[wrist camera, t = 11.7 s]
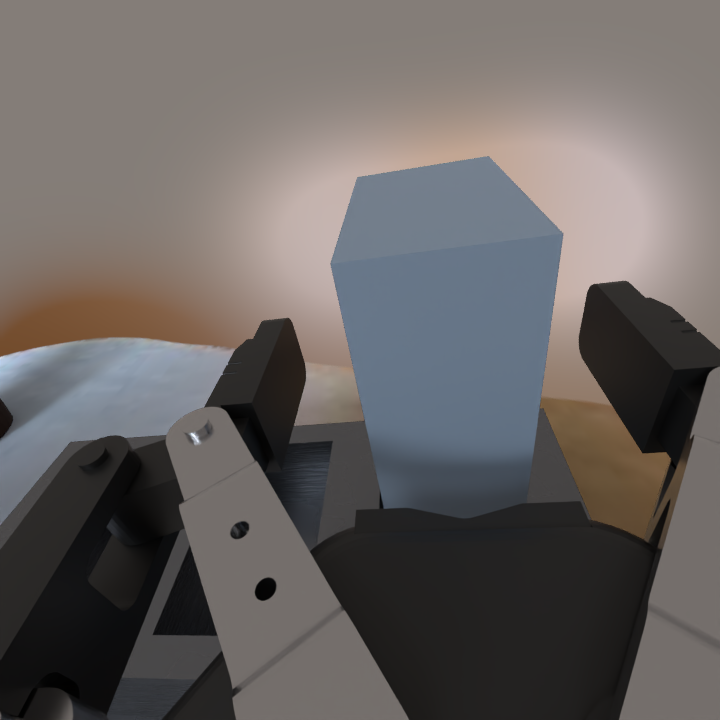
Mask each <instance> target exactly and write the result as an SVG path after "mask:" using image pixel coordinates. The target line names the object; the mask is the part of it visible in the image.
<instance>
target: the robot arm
mask: <svg viewBox="0 0 720 720" xmlns="http://www.w3.org/2000/svg"><path fill="white" fill-rule="evenodd" d="M696 330H697V329H696V328H695V327H693V326H692V325H691V324H690V323H689V322H685V319H684V318H683V317H682V316H681V315H680V314H679V313H678V312H676V311H675V310H674V309H673V308H672V307H670V306H668V305H666V304H663V303H661V302H659V301H657V300H655V299H652V298H645V297H644V296H643V295H641V293H640V292H638V290H636V289H635V288H634V287H633V286H632V285H631V284H630V283H629V282H627V281H618V282H609V283H600V284H593V285H591V286H590V288H589V290H588V292H587V297H586V302H585V307H584V313H583V318H582V323H581V328H580V334H579V349H580V353H581V356H582V359H583V360H584V362H585V363H586V365H587V366H588V368H589V370H590V371H591V373H592V374H593V376H594V378H595V379H596V381H597V382H598V384H599V385H600V387H601V389H602V390H603V392H604V393H605V395H606V396H607V398H608V400H609V401H610V403H611V404H612V406H613V407H614V409H615V411H616V412H617V414H618V415H619V417H620V418H621V420H622V422H623V423H624V425H625V426H626V428H627V429H628V431H629V433H630V434H631V436H632V437H633V439H634V440H635V442H636V444H637V445H638V447H639V448H640V450H641V451H642V453H658V452H667V454H668V455H669V457H670V458H671V460H670V462H669V464H668V466H667V469H666V472H665V475H664V478H663V481H662V484H661V487H660V490H659V493H658V497H657V500H656V503H655V506H654V509H653V512H652V515H651V518H650V521H649V525H648V528H647V531H646V533H645V536H644V539H641V538H639V537H637V536H635V535H633V534H631V533H629V532H627V531H624V530H622V529H619V528H616V527H614V526H611V525H608V524H604V523H601V522H597V521H593V520H588V517H587V515H586V513H585V510H584V508H583V506H582V503H581V501H571V502H545V503H522V504H518V505H514V506H511V507H507V508H504V509H500V510H497V511H493V512H490V513H486V514H483V515H479V516H476V517H472V518H457V517H452V516H447V515H442V514H437V513H432V512H427V511H422V510H417V509H412V508H387V509H361V510H356V516H355V527H351V528H348V529H345V530H343V531H341V532H338V533H336V534H334V535H332V536H331V537H329V538H327V539H325V540H324V541H322V542H321V543H320V544H318V545H317V546H315V547H314V548H313V549H312V550H311V551H309V550H308V548H307V546H306V545H305V543H304V541H303V539H302V538H301V536H300V534H299V533H298V531H297V529H296V527H295V526H294V524H293V522H292V520H291V519H290V517H289V515H288V514H287V512H286V510H285V508H284V507H283V505H282V503H281V502H280V500H279V498H278V496H277V495H276V493H275V491H274V490H273V488H272V486H271V484H270V483H269V481H268V479H267V477H266V476H265V473H266V472H280V471H282V468H283V464H284V460H285V456H286V453H287V449H288V445H289V441H290V438H291V434H292V430H293V426H294V423H295V419H296V415H297V411H298V408H299V404H300V400H301V397H302V393H303V389H304V385H305V381H306V368H305V363H304V359H303V356H302V353H301V349H300V346H299V343H298V339H297V336H296V333H295V330H294V327H293V324H292V322H291V320H290V319H289V318H283V319H274V320H266V321H262V322H261V324H260V326H259V328H258V330H257V332H256V334H255V336H254V338H253V339H248V340H246V341H245V342H244V343H243V344H242V345H240V346H239V347H238V348H237V349H236V350H235V351H234V353H233V355H232V357H231V358H230V360H229V362H228V365H227V366H226V368H225V370H224V371H223V375H221V377H220V379H219V381H218V383H217V384H216V386H215V388H214V390H213V392H212V394H211V396H210V397H209V399H208V401H207V403H206V405H205V407H204V408H201V409H198V410H195V411H192V412H190V413H188V414H187V415H185V416H183V417H182V418H181V419H179V420H178V421H177V422H176V423H175V424H174V425H173V426H172V427H171V429H170V430H169V432H168V434H167V436H166V439H165V440H162V441H158V442H155V443H152V444H149V445H146V446H142V447H139V448H136V449H133V448H132V446H131V445H130V443H129V442H128V441H127V439H125V438H124V437H122V436H107V437H103V438H100V439H98V440H95V441H93V442H91V443H89V444H87V445H86V446H84V447H82V448H81V449H80V450H78V451H77V452H76V453H75V454H73V455H72V456H71V457H70V458H69V459H68V461H67V462H66V463H65V464H64V466H63V467H62V468H61V469H60V471H59V472H58V473H57V475H56V476H55V477H54V479H53V480H52V481H51V483H50V484H49V485H48V487H47V488H46V489H45V491H44V492H43V493H42V495H41V496H40V497H39V499H38V500H37V501H36V503H35V504H34V505H33V507H32V508H31V509H30V511H29V512H28V513H27V515H26V516H25V517H24V519H23V520H22V521H21V523H20V524H19V525H18V527H17V528H16V529H15V531H14V532H13V533H12V535H11V536H10V537H9V539H8V540H7V541H6V543H5V544H4V545H3V547H2V548H1V549H0V720H108V718H107V713H108V711H109V708H110V706H111V703H112V701H113V698H114V696H115V693H116V691H117V688H118V685H119V683H120V680H121V678H122V675H123V673H124V670H125V668H126V665H127V663H128V660H129V658H130V655H131V653H132V650H133V648H134V645H135V643H136V640H137V638H138V635H139V633H140V630H141V628H142V625H143V623H144V620H145V617H146V615H147V612H148V610H149V607H150V605H151V602H152V600H153V597H154V595H155V592H156V590H157V587H158V585H159V582H160V580H161V577H162V575H163V572H164V570H165V567H166V565H167V562H168V560H169V557H170V555H171V552H172V549H173V547H174V544H175V542H176V539H177V537H178V534H179V532H180V530H182V529H185V530H186V533H187V537H188V540H189V543H190V546H191V550H192V553H193V556H194V560H195V563H196V566H197V569H198V573H199V576H200V579H201V583H202V586H203V589H204V592H205V596H206V599H207V602H208V605H209V609H210V612H211V615H212V619H213V622H214V625H215V628H216V632H217V635H218V638H219V642H220V645H221V648H222V651H221V652H220V653H219V654H218V655H217V656H216V658H215V659H214V660H213V661H212V662H211V663H210V664H209V666H208V667H207V668H206V669H205V670H204V671H203V672H202V674H201V675H200V676H199V677H198V678H197V679H196V681H195V682H194V683H193V684H192V685H191V686H190V687H189V689H188V690H187V691H186V692H185V693H184V694H183V695H182V697H181V698H180V699H179V700H178V701H177V702H176V703H175V705H174V706H173V707H172V708H171V709H170V710H169V712H168V713H167V714H166V715H165V716H164V717H163V718H162V720H720V350H719V349H718V348H717V347H716V346H715V345H714V344H712V343H711V342H710V341H709V340H708V339H707V338H706V337H705V336H704V335H702V334H701V333H700V332H697V331H696ZM106 528H107V529H108V530H109V531H110V532H111V533H112V536H111V538H110V540H109V542H108V543H107V545H106V547H105V549H104V551H103V553H102V555H101V556H100V558H99V560H98V562H97V564H96V566H95V568H94V569H93V571H92V573H91V575H90V577H89V579H87V574H86V570H87V564H88V560H89V558H90V556H91V554H92V552H93V550H94V548H95V547H96V545H97V543H98V541H99V539H100V538H101V536H102V534H103V532H104V531H105V529H106Z"/></svg>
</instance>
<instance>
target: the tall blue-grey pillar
mask: <svg viewBox="0 0 720 720" xmlns="http://www.w3.org/2000/svg"><path fill="white" fill-rule="evenodd" d="M562 239H563V233H562V232H561V231H560V230H559V229H558V228H557V226H556V225H555V224H553V222H552V221H551V220H550V219H549V218H548V217H547V216H546V215H545V214H544V213H543V212H542V211H541V210H540V209H539V208H538V207H537V206H536V205H535V204H534V203H533V202H532V201H531V200H530V199H529V198H528V196H527V195H526V194H525V193H524V192H523V191H522V190H521V189H520V188H519V187H518V186H517V185H516V184H515V183H514V182H513V181H512V180H511V179H510V178H509V177H508V176H507V175H506V174H505V173H504V172H503V171H502V170H501V169H500V167H499V166H498V165H497V164H496V163H495V162H494V161H493V160H492V159H491V158H490V157H489V156H487V157H480V158H474V159H468V160H462V161H455V162H449V163H443V164H437V165H431V166H424V167H418V168H412V169H406V170H400V171H393V172H387V173H381V174H375V175H368V176H362V177H358V178H357V180H356V183H355V187H354V190H353V193H352V196H351V199H350V203H349V206H348V209H347V212H346V215H345V219H344V222H343V225H342V228H341V232H340V235H339V238H338V241H337V244H336V247H335V251H334V254H333V257H332V260H331V268H332V273H333V277H334V282H335V287H336V291H337V296H338V300H339V305H340V309H341V314H342V319H343V323H344V328H345V332H346V337H347V341H348V346H349V351H350V355H351V360H352V364H353V369H354V373H355V378H356V383H357V387H358V392H359V396H360V401H361V405H362V410H363V415H364V419H365V424H366V428H367V433H368V437H369V442H370V446H371V451H372V456H373V460H374V465H375V469H376V474H377V478H378V483H379V488H380V492H381V497H382V501H383V506H384V509H387V508H412V509H417V510H422V511H427V512H432V513H437V514H442V515H447V516H452V517H457V518H472V517H476V516H479V515H483V514H486V513H490V512H493V511H497V510H500V509H504V508H507V507H511V506H514V505H518V504H522V503H527V496H528V488H529V481H530V474H531V466H532V459H533V452H534V445H535V437H536V430H537V423H538V415H539V408H540V401H541V393H542V386H543V379H544V371H545V364H546V357H547V350H548V342H549V335H550V327H551V320H552V313H553V306H554V299H555V291H556V283H557V277H558V269H559V262H560V255H561V247H562Z"/></svg>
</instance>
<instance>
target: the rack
mask: <svg viewBox="0 0 720 720" xmlns="http://www.w3.org/2000/svg"><path fill="white" fill-rule="evenodd" d="M166 436H167V435H162V436H148V437H134V438H125V439H127V441H128V442H129V443H130V445H131V446H132V448H133V449H136V448H139V447H142V446H146V445H149V444H152V443H155V442H158V441H162V440H165V439H166ZM93 441H95V440H92V441H77V442H70V443H69V444H68V446H67V447H66V448H65V449H64V450H63V452H62V453H61V454H60V455H59V456H58V458H57V459H56V460H55V461H54V462H53V463H52V465H51V466H50V467H49V468H48V469H47V471H46V472H45V473H44V474H43V475H42V477H41V478H40V479H39V480H38V481H37V483H36V484H35V485H34V486H33V487H32V489H31V490H30V491H29V492H28V493H27V495H26V496H25V497H24V498H23V499H22V500H21V502H20V503H19V504H18V505H17V506H16V508H15V509H14V510H13V511H12V512H11V514H10V515H9V516H8V517H7V518H6V520H5V521H4V522H3V523H2V524H1V526H0V549H1V548H2V547H3V545H4V544H5V543H6V541H7V540H8V539H9V537H10V536H11V535H12V533H13V532H14V531H15V529H16V528H17V527H18V525H19V524H20V523H21V521H22V520H23V519H24V517H25V516H26V515H27V513H28V512H29V511H30V509H31V508H32V507H33V505H34V504H35V503H36V501H37V500H38V499H39V497H40V496H41V495H42V493H43V492H44V491H45V489H46V488H47V487H48V485H49V484H50V483H51V481H52V480H53V479H54V477H55V476H56V475H57V473H58V472H59V471H60V469H61V468H62V467H63V466H64V464H65V463H66V462H67V461H68V459H69V458H70V457H71V456H72V455H73V454H75V453H76V452H77V451H78V450H80V449H81V448H82V447H84V446H86V445H87V444H89V443H91V442H93ZM265 476H266V477H267V479H268V481H269V483H270V484H271V486H272V488H273V490H274V491H275V493H276V495H277V496H278V498H279V500H280V502H281V503H282V505H283V507H284V508H285V510H286V512H287V514H288V515H289V517H290V519H291V520H292V522H293V524H294V526H295V527H296V529H297V531H298V533H299V534H300V536H301V538H302V539H303V541H304V543H305V545H306V546H307V548H308V550H309V551H311V550H312V549H313V548H314V547H315V546H317V545H318V544H320V543H321V542H322V541H324V540H325V539H327V538H329V537H331V536H332V535H334V534H336V533H338V532H341V531H343V530H345V529H348V528H351V527H355V516H356V510H361V509H384V506H383V501H382V497H381V492H380V488H379V483H378V478H377V474H376V469H375V465H374V460H373V456H372V451H371V446H370V442H369V437H368V433H367V428H366V424H365V421H359V422H345V423H331V424H317V425H303V426H293V430H292V434H291V438H290V441H289V445H288V449H287V453H286V456H285V460H284V464H283V468H282V471H280V472H266V473H265ZM571 501H581V503H582V506H583V508H584V510H585V513H586V515H587V517H588V520H591V518H590V515H589V513H588V511H587V508H586V506H585V504H584V502H583V499H582V497H581V495H580V492H579V490H578V488H577V485H576V483H575V481H574V478H573V476H572V474H571V472H570V469H569V467H568V465H567V462H566V460H565V458H564V455H563V453H562V451H561V448H560V446H559V444H558V442H557V439H556V437H555V435H554V432H553V430H552V428H551V425H550V423H549V421H548V418H547V416H546V414H545V412H544V409H543V408H542V409H539V415H538V423H537V430H536V437H535V445H534V452H533V459H532V466H531V474H530V481H529V488H528V496H527V503H545V502H571ZM111 536H112V533H111V532H110V531H109V530H108V529H107V528H106V529H105V531H104V532H103V534H102V536H101V538H100V539H99V541H98V543H97V545H96V547H95V548H94V550H93V552H92V554H91V556H90V558H89V560H88V564H87V570H86V574H87V579H89V577H90V575H91V573H92V571H93V569H94V568H95V566H96V564H97V562H98V560H99V558H100V556H101V555H102V553H103V551H104V549H105V547H106V545H107V543H108V542H109V540H110V538H111ZM221 651H222V648H221V645H220V642H219V638H218V635H217V632H216V628H215V625H214V622H213V619H212V615H211V612H210V609H209V605H208V602H207V599H206V596H205V592H204V589H203V586H202V583H201V579H200V576H199V573H198V569H197V566H196V563H195V560H194V556H193V553H192V550H191V546H190V543H189V540H188V537H187V533H186V530H185V529H182V530H180V532H179V534H178V537H177V539H176V542H175V544H174V547H173V549H172V552H171V555H170V557H169V560H168V562H167V565H166V567H165V570H164V572H163V575H162V577H161V580H160V582H159V585H158V587H157V590H156V592H155V595H154V597H153V600H152V602H151V605H150V607H149V610H148V612H147V615H146V617H145V620H144V623H143V625H142V628H141V630H140V633H139V635H138V638H137V640H136V643H135V645H134V648H133V650H132V653H131V655H130V658H129V660H128V663H127V665H126V668H125V670H124V673H123V675H122V678H121V680H120V683H119V685H118V688H117V691H116V693H115V696H114V698H113V701H112V703H111V706H110V708H109V711H108V713H107V718H108V720H162V718H163V717H164V716H165V715H166V714H167V713H168V712H169V710H170V709H171V708H172V707H173V706H174V705H175V703H176V702H177V701H178V700H179V699H180V698H181V697H182V695H183V694H184V693H185V692H186V691H187V690H188V689H189V687H190V686H191V685H192V684H193V683H194V682H195V681H196V679H197V678H198V677H199V676H200V675H201V674H202V672H203V671H204V670H205V669H206V668H207V667H208V666H209V664H210V663H211V662H212V661H213V660H214V659H215V658H216V656H217V655H218V654H219V653H220V652H221Z"/></svg>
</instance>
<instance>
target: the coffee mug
mask: <svg viewBox="0 0 720 720" xmlns="http://www.w3.org/2000/svg"><path fill="white" fill-rule="evenodd" d="M12 421H13V416H12V415H11V413H10V412H9V410H8V409H7V407H6V406H5V405H4V403H3V402H2V400H1V399H0V438H1V437H2V436H3V435H4V434H5V433H6V432H7V431H8V429H9V428H10V426H11V424H12Z"/></svg>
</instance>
